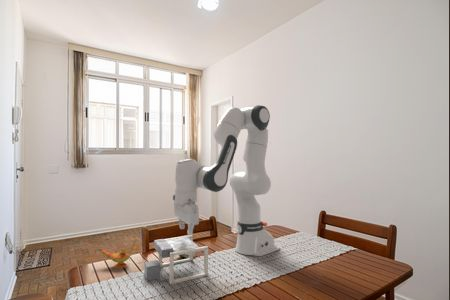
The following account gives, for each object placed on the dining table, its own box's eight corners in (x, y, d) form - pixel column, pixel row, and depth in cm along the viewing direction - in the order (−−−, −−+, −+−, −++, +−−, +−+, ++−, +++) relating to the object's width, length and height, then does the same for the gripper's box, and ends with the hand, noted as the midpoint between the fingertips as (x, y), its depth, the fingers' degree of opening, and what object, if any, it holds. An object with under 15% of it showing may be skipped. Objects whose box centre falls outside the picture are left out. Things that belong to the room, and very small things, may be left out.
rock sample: (189, 254, 111) (183, 237, 116) (176, 264, 112) (171, 247, 117) (202, 257, 118) (196, 241, 124) (190, 267, 119) (184, 250, 125)
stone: (157, 272, 102) (157, 259, 102) (160, 277, 97) (160, 264, 98) (144, 275, 99) (144, 262, 100) (146, 280, 95) (146, 267, 95)
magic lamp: (100, 262, 112) (100, 237, 112) (140, 262, 111) (140, 237, 112) (91, 268, 105) (92, 242, 105) (134, 269, 104) (134, 242, 105)
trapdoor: (186, 241, 112) (186, 234, 112) (199, 251, 99) (199, 244, 99) (153, 246, 105) (153, 239, 105) (162, 259, 92) (162, 250, 92)
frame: (191, 259, 115) (191, 234, 115) (208, 275, 99) (208, 246, 99) (158, 266, 107) (158, 240, 108) (170, 284, 92) (170, 253, 92)
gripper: (203, 200, 97) (203, 237, 97) (185, 194, 115) (185, 224, 115) (187, 202, 94) (187, 239, 94) (171, 195, 112) (171, 226, 112)
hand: (185, 231), depth 104 cm, fingers open, 8 cm apart
